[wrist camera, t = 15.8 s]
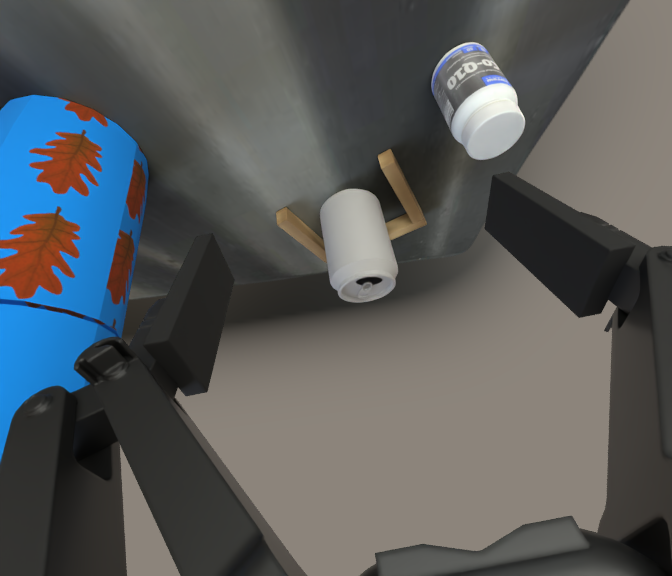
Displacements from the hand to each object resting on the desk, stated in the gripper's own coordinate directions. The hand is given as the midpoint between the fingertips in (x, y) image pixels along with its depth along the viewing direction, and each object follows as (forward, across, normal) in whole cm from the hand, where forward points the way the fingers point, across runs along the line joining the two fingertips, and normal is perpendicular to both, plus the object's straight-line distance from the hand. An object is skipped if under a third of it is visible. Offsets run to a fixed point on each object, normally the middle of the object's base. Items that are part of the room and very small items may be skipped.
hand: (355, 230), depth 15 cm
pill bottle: (+17, +12, +3) cm, 21 cm away
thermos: (+18, -22, +3) cm, 28 cm away
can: (+23, +2, -9) cm, 25 cm away
